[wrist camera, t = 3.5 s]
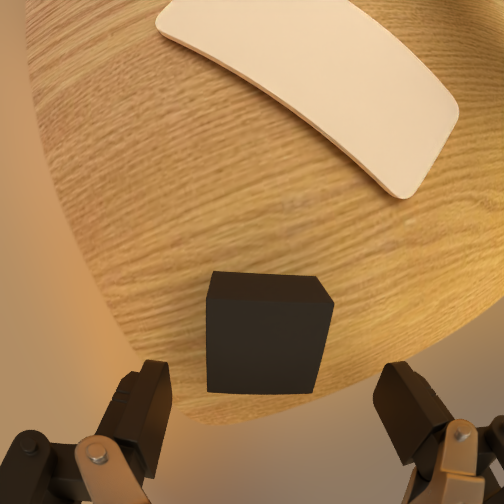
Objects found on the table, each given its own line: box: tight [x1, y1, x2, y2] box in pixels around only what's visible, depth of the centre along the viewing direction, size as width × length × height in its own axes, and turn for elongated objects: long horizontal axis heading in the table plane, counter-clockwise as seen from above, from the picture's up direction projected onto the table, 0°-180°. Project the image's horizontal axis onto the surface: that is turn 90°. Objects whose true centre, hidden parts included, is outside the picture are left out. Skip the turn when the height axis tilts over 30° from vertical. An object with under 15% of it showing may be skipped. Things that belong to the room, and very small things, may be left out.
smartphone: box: [155, 0, 459, 199], centre depth 10 cm, size 7×1×15 cm
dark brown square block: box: [206, 271, 334, 395], centre depth 13 cm, size 5×5×3 cm
